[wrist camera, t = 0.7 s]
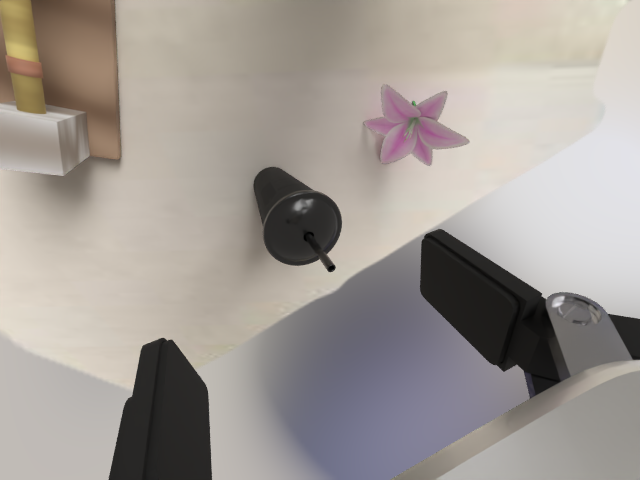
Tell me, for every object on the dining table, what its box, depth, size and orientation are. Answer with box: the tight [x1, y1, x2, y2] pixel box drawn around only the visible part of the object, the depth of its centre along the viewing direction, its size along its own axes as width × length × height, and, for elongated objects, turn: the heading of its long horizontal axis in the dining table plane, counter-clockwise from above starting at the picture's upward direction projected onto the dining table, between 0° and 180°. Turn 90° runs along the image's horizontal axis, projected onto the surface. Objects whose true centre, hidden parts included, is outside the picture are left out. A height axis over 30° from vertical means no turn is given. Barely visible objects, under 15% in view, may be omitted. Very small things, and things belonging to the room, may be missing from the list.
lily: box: [363, 84, 470, 166], centre depth 37 cm, size 12×12×10 cm
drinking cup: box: [254, 167, 342, 272], centre depth 30 cm, size 8×8×20 cm
